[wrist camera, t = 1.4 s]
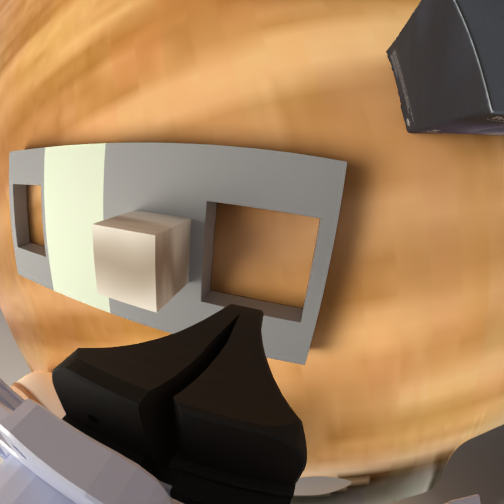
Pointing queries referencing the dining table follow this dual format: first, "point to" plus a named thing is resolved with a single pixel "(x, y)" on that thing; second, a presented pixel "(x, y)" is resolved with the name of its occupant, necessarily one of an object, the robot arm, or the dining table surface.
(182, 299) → the plate
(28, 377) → the lidded jar
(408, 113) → the small box
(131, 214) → the block
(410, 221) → the dining table surface
